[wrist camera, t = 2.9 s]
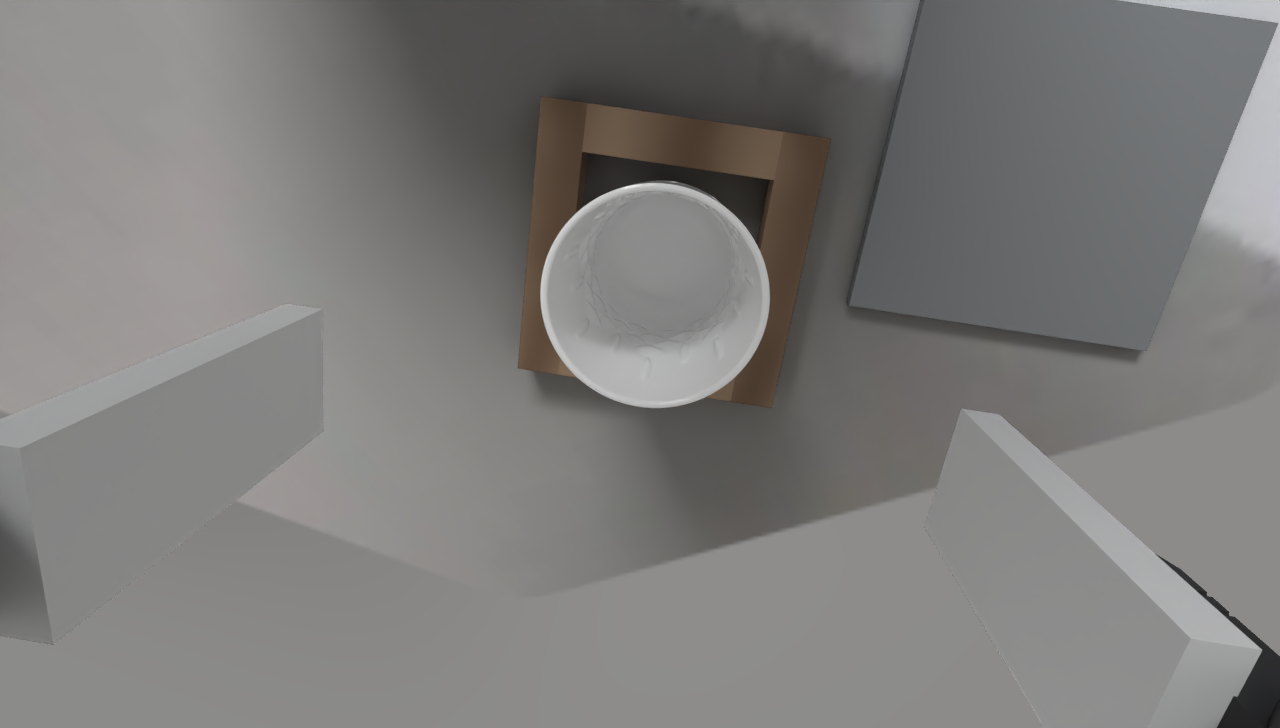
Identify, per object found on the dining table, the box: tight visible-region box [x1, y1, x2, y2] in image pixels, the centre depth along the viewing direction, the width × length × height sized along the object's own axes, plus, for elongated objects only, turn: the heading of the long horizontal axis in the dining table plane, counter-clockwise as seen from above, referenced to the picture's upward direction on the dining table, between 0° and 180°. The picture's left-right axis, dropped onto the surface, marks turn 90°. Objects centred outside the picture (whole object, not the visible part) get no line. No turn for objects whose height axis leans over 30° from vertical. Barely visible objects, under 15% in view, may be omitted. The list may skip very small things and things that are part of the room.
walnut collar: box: [518, 96, 831, 408], centre depth 32 cm, size 12×12×2 cm
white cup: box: [540, 180, 770, 408], centre depth 28 cm, size 8×8×10 cm
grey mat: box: [847, 0, 1278, 351], centre depth 30 cm, size 14×14×1 cm
